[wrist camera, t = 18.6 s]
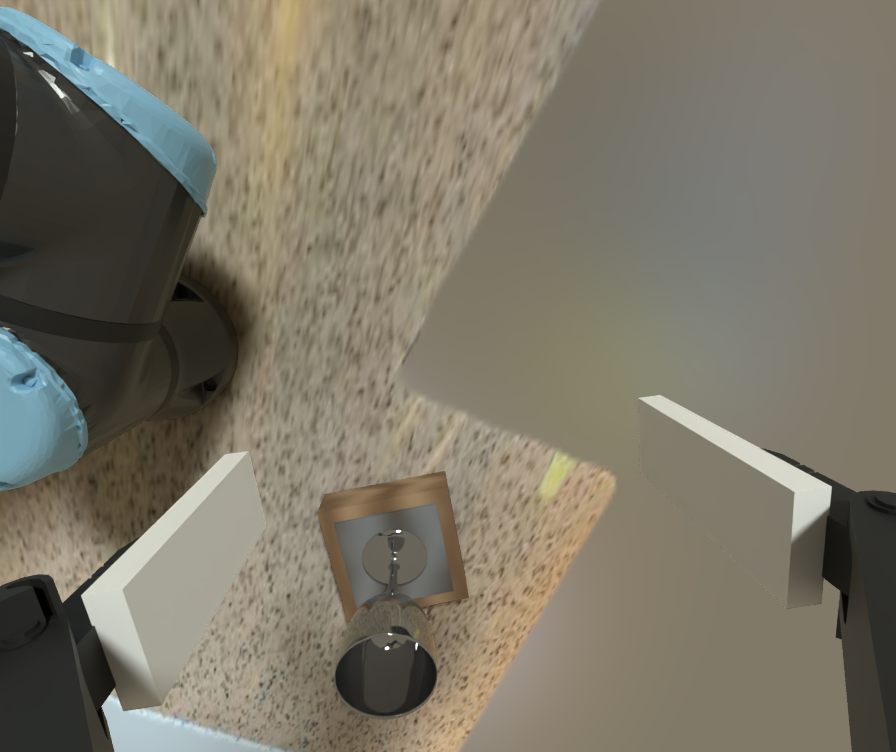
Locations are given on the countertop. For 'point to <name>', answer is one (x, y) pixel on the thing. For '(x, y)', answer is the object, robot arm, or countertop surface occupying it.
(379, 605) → the wine glass
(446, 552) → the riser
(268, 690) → the countertop surface
